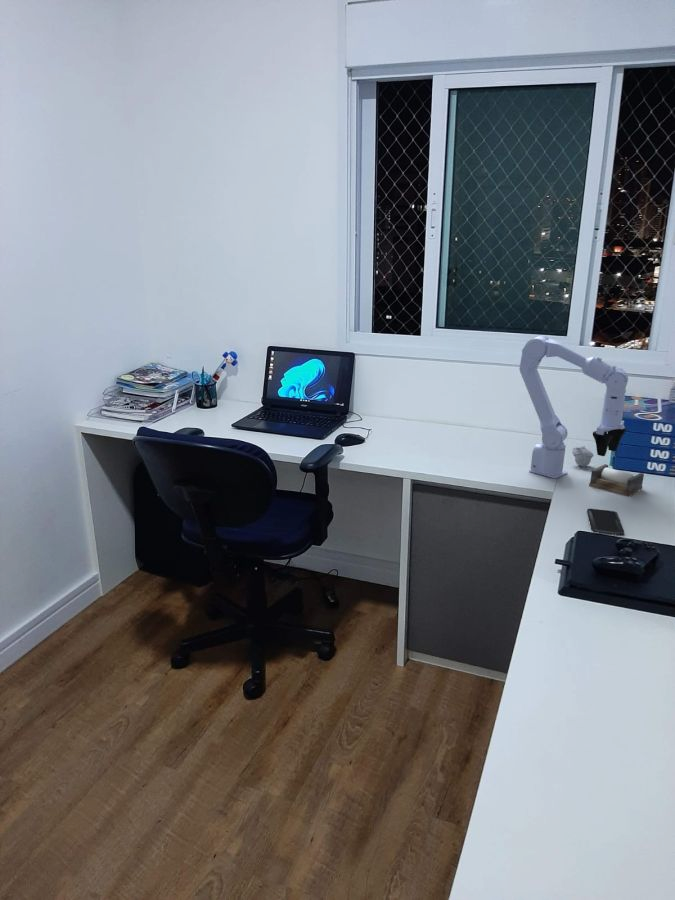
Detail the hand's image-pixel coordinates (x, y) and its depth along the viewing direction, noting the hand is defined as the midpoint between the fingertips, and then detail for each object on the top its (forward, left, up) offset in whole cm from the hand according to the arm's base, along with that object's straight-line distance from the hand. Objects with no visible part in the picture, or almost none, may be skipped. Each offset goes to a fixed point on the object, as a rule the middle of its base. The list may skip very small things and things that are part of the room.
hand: (606, 453), depth 204 cm
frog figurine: (-12, +10, -10) cm, 18 cm away
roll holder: (+5, -2, -9) cm, 11 cm away
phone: (+15, -31, -10) cm, 36 cm away
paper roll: (+5, -2, -6) cm, 8 cm away
